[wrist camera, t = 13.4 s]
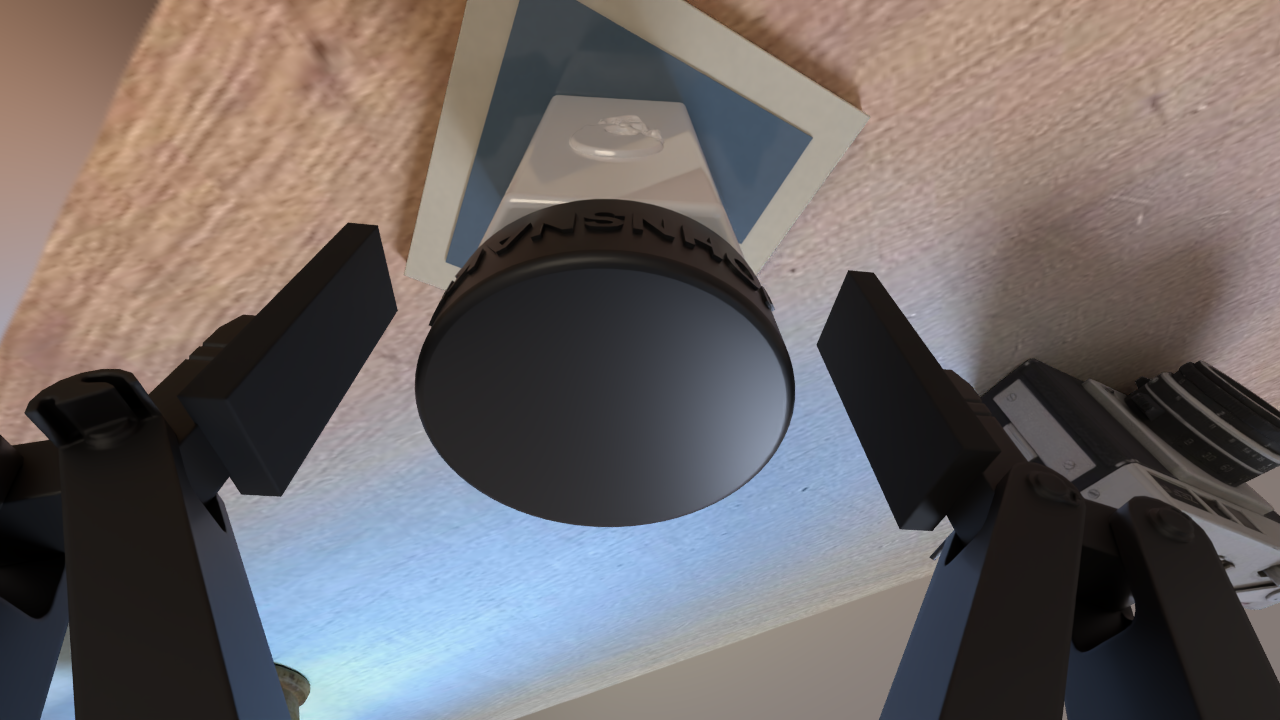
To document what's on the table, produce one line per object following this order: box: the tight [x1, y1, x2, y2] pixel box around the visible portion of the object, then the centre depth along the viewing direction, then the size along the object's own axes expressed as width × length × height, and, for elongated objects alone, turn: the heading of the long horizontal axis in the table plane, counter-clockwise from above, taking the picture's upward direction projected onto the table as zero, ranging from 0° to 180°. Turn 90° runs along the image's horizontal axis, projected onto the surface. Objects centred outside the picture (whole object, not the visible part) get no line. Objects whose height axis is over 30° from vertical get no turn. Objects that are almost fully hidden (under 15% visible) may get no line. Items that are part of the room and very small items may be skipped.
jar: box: [415, 95, 795, 527], centre depth 16 cm, size 9×8×12 cm
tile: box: [404, 0, 870, 290], centre depth 21 cm, size 14×14×1 cm
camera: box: [981, 359, 1280, 609], centre depth 25 cm, size 14×9×10 cm, turn 57°
